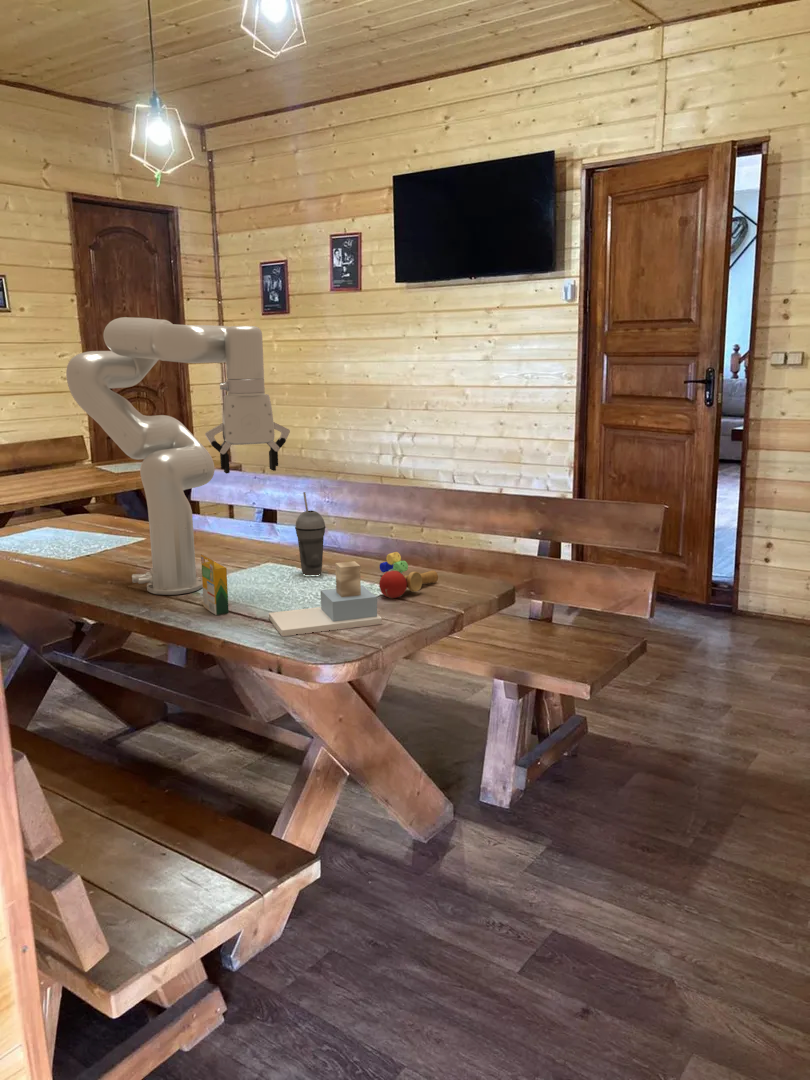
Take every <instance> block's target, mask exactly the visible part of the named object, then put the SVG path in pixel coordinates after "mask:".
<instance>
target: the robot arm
mask: <svg viewBox="0 0 810 1080" xmlns="http://www.w3.org/2000/svg"><path fill="white" fill-rule="evenodd" d="M103 341H104V344H105V346H106V347H107V348H108V349H109V350H91V351H89V350H88V351H84V352H80V353H78V354H76V355H74V356H73V357H72V358H71V359H70V360H69V361H68V363H67V365H66V369H65V370H66V372H65V373H66V375H65V376H66V382H67V386H68V390H69V391H70V394H71V396H72V398H73V399H74V401H75V402H76V404H77V405H78V406H79V407H80V408H81V409H82V411H84V412H85V413H86V414H87V415H88V416H89V417H90V418H92V419H93V420H94V421H95V422H96V423H97V424H98V425H99V426H100V427H101V428H102V430H103V431H104V432H105V433H106V435H108V437H109V438H110V439H111V440H112V441H113V442H114V443H115V444H116V445H117V446H118V448H119V449H121V451H122V452H123V453H124V454H125V455H126V456H128V457H129V458H130V459H132V460H138V461H139V460H142V461H141V465H140V469H139V470H140V471H139V472H140V473H139V474H140V479H141V482H142V487H143V490H144V494H145V500H146V505H147V506H146V507H147V515H148V526H149V527H148V528H149V538H150V551H151V563H152V564H151V565H152V566H151V567H150V571H146V572H145V573H133V574H131V580H132V583H133V584H134V583H138V584H146V590H147V592H149V593H151V594H154V595H160V596H161V595H163V596H172V595H173V596H174V595H182V594H183V595H184V594H189V593H193V592H197V591H199V590H201V589H203V583H202V578H201V577H197V565H196V552H195V539H194V538H195V537H194V535H195V533H194V521H193V511H192V506H191V504H190V502H189V500H188V498H187V496H186V495H185V492H184V491H186V490H190V489H195V488H199V487H202V486H205V485H207V484H208V483H209V482H211V481H212V479H213V478H214V475H215V463H214V459H213V457H212V455H211V454H210V452H209V451H208V449H206V448H205V446H204V445H203V444H202V443H201V441H200V440H198V438H197V437H195V435H194V434H193V433H192V432H191V431H190V430H189V429H188V428H187V427H186V426H185V425H184V423H182V422H181V421H180V420H178V419H177V418H175V417H173V416H171V415H166V414H165V415H164V414H160V415H144V414H142V413H141V412H139V410H137V408H135V407H134V406H133V404H132V403H131V401H129V400H128V399H127V398H125V397H124V396H122V395H120V394H119V393H117V392H116V391H114V390H112V389H125V388H131V387H134V386H136V385H138V384H139V383H141V382H142V380H143V379H144V378H145V377H146V376H147V374H148V373H149V372H150V371H151V370H152V368H153V367H154V366H155V365H156V364H157V362H158V361H163V362H173V363H184V364H212V363H213V364H221V363H223V364H224V363H225V367H226V368H225V371H226V380H225V381H224V382H220V383H219V390H222V391H226V393H227V394H225V395H224V397H223V404H222V423H220V424H218V425H217V426H215V427H213V428H212V429H209V430H208V431H206V432H205V434H204V435H205V437H206V438H207V440H208V442H209V444H210V445H211V446H212V447H213V448H214V449H215V450H216V451H217V452H218V453H219V458H220V469H221V470H223V473H225V474H230V473H231V472H230V471H231V470H230V469H231V468H230V457H229V456H230V455H229V453H228V451H229V449H230V448H231V447H232V446H234V445H235V446H236V445H238V446H241V445H259V444H262V445H263V444H267V446H268V447H269V448H270V449H269V451H268V461H269V463H268V465H269V469H270V470H271V471H274V472H275V471H276V470H277V467H279V453H278V452H279V451H280V449H281V448H282V447H283V446H284V445H285V444H286V442H287V439H288V437H289V436H290V435H289V434H290V433H291V430H290V428H287V427H285V426H282V425H280V424H278V423H276V422H274V416H273V409H272V408H273V407H272V403H271V398H270V394H269V393H268V394H266V393H265V392H266V391H265V369H264V365H265V364H264V349H263V348H264V347H263V346H264V345H263V341H264V340H263V332H262V329H261V328H260V327H258V326H254V325H231V326H228V325H214V324H213V325H210V324H209V325H208V324H206V325H205V324H199V325H198V324H175V323H174V324H173V323H172V322H171V321H169V320H167V319H157V318H150V317H129V316H128V317H127V316H124V317H118V318H114V319H113V320H110V321H109V322H108V324H106V325H105V328H104V330H103ZM275 430H276V431H278V432H280V436H279V438H278V439H276V441H275ZM221 432H222V439H223V442H222V443H221V444H220V443H219V442H218V441H217V439H216V438H215V436H216V435H218V434H219V433H221Z"/></svg>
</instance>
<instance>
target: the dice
mask: <svg viewBox="0 0 810 1080" xmlns="http://www.w3.org/2000/svg"><path fill="white" fill-rule="evenodd" d="M408 569H409V564H408V562H407V561H406V560H402V556H401V554H400V553H399V552H398V551H395V552H390V553H388V554H387V555H386V561H385V562H380V564H379V571H380V572H381V573H386V572H388V571H394V570H397V571H399V572H401V574H403V573H404V572H407V571H408Z"/></svg>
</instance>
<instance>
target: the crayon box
mask: <svg viewBox="0 0 810 1080" xmlns="http://www.w3.org/2000/svg"><path fill="white" fill-rule="evenodd" d="M205 560H207V561H205ZM200 561H201V579H202V583H203V587H202V601H203V608H204V609H207V610H208V611H209V612H210V613H212V614H214V615H215V616H221V615H225V614H226V615H227V614H229V610H230V609H229V597H228V596H229V593H228V573H227V570H228V569H227V567H225V566H223V565H221V564H220V563H218V562H216V561H214V560H213V559H212V558H210V557H207V556H206V555H204V554H202V553H200Z"/></svg>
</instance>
